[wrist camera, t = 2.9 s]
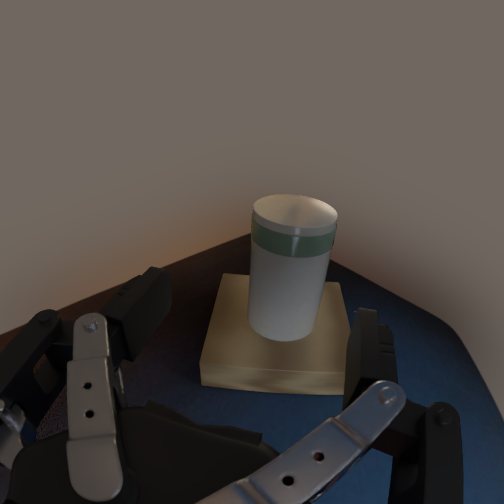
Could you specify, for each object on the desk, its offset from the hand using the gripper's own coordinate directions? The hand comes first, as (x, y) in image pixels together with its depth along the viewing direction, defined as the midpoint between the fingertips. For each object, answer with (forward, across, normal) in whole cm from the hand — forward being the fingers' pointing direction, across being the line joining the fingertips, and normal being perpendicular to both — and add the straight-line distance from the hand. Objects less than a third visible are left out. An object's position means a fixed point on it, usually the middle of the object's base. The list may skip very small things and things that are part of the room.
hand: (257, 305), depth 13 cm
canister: (+11, 0, +10) cm, 15 cm away
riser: (+11, 0, +13) cm, 17 cm away
